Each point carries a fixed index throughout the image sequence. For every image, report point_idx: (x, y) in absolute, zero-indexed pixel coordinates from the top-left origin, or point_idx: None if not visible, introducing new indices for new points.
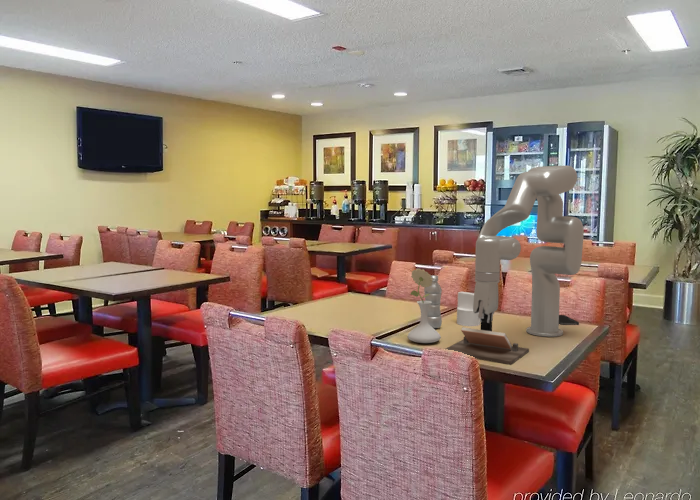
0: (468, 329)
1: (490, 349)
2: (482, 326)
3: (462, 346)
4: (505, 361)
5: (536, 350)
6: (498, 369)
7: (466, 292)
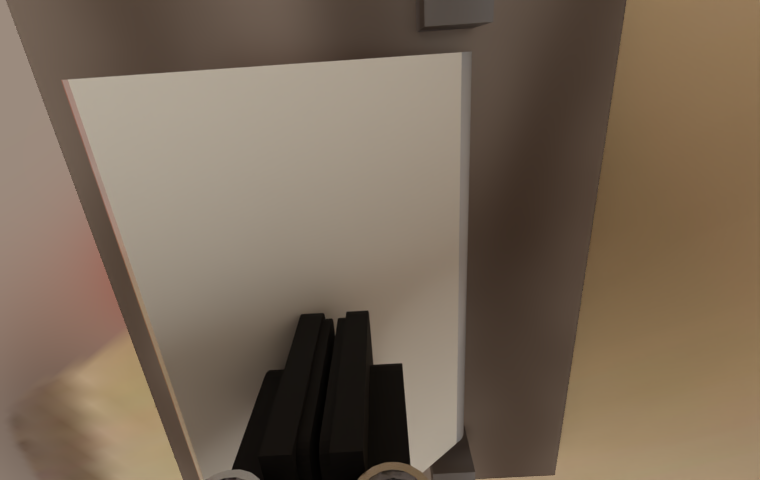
0: (113, 220)
1: None
2: (246, 433)
3: (284, 42)
4: (181, 462)
5: (602, 473)
6: (57, 457)
7: None
